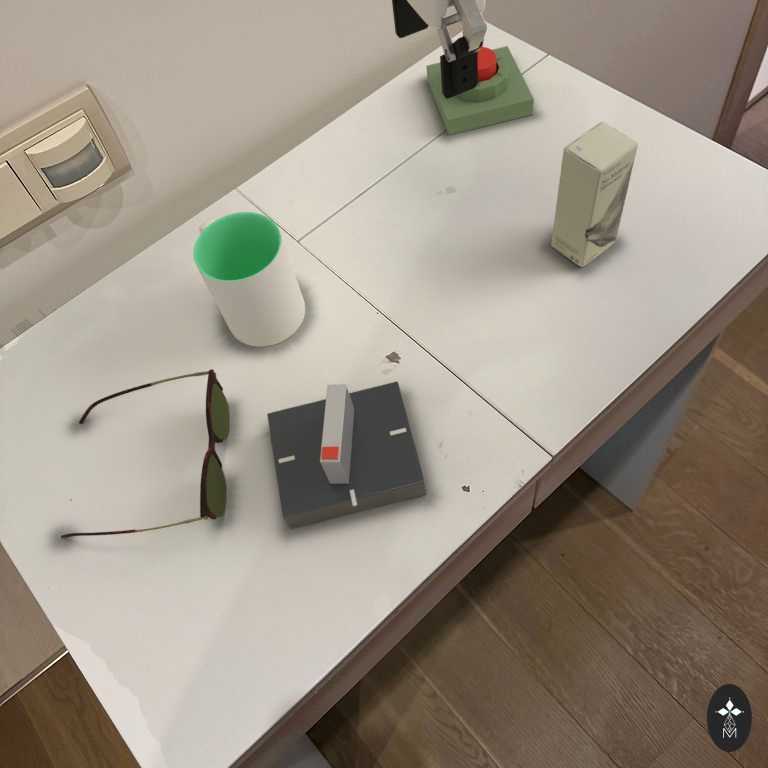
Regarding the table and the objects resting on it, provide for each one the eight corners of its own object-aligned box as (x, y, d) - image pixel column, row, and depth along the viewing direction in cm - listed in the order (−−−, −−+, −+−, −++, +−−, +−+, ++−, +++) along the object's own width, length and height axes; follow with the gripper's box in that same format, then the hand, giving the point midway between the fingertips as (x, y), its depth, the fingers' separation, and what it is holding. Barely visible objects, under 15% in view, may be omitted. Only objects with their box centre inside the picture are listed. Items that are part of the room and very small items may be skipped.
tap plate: (399, 391, 69) (396, 374, 67) (428, 501, 64) (426, 487, 61) (274, 422, 69) (265, 406, 67) (292, 535, 64) (283, 523, 61)
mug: (191, 293, 78) (153, 225, 69) (251, 249, 80) (222, 178, 72) (258, 360, 73) (227, 296, 64) (321, 311, 75) (299, 243, 66)
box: (581, 270, 74) (598, 174, 63) (549, 246, 76) (560, 148, 65) (618, 241, 75) (641, 142, 64) (585, 218, 77) (602, 118, 66)
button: (490, 56, 86) (490, 43, 85) (500, 78, 84) (500, 64, 83) (456, 64, 86) (456, 51, 85) (466, 86, 84) (465, 73, 83)
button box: (507, 61, 91) (507, 32, 88) (532, 114, 86) (534, 85, 82) (427, 81, 91) (425, 52, 87) (448, 135, 86) (446, 106, 82)
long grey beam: (336, 409, 66) (326, 382, 62) (354, 409, 66) (345, 382, 61) (329, 484, 62) (319, 460, 58) (348, 483, 62) (339, 460, 58)
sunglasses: (225, 536, 64) (202, 516, 60) (66, 558, 66) (33, 540, 62) (231, 392, 72) (211, 365, 67) (88, 415, 74) (59, 391, 69)
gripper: (530, -116, 49) (519, 101, 63) (417, -213, 57) (431, -3, 72) (427, -78, 48) (440, 133, 63) (328, -182, 57) (360, 24, 71)
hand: (435, 60), depth 67 cm, fingers open, 9 cm apart
